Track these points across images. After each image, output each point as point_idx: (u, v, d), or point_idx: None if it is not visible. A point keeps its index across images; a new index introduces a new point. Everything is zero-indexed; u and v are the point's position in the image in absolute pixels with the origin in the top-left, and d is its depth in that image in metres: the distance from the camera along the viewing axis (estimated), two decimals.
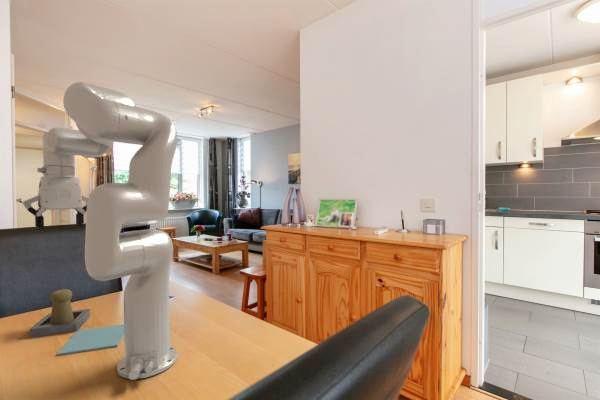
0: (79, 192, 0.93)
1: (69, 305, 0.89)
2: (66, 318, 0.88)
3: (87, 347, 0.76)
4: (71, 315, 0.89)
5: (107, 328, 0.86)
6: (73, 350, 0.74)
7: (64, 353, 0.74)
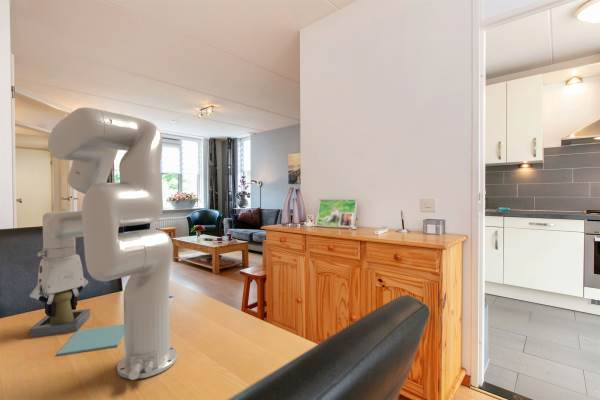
0: (81, 270, 0.91)
1: (69, 305, 0.89)
2: (66, 318, 0.88)
3: (87, 347, 0.76)
4: (71, 315, 0.89)
5: (107, 328, 0.86)
6: (73, 350, 0.74)
7: (64, 353, 0.74)
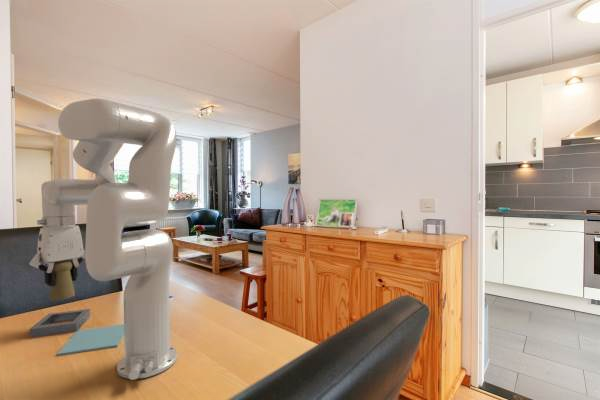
0: (80, 241, 0.91)
1: (69, 275, 0.89)
2: (66, 288, 0.87)
3: (87, 347, 0.76)
4: (71, 285, 0.89)
5: (107, 328, 0.86)
6: (73, 350, 0.74)
7: (64, 353, 0.74)
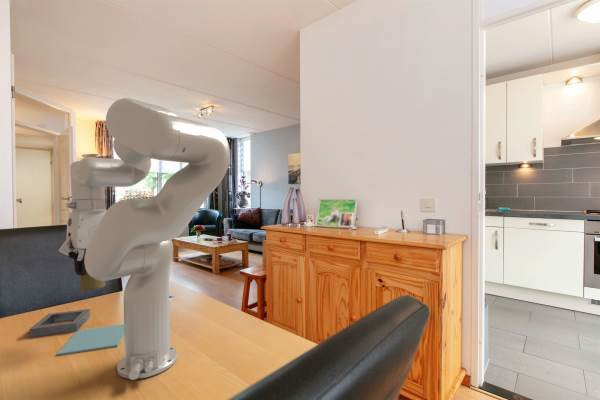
0: None
1: None
2: None
3: (87, 347, 0.76)
4: None
5: (107, 328, 0.86)
6: (73, 350, 0.74)
7: (64, 353, 0.74)
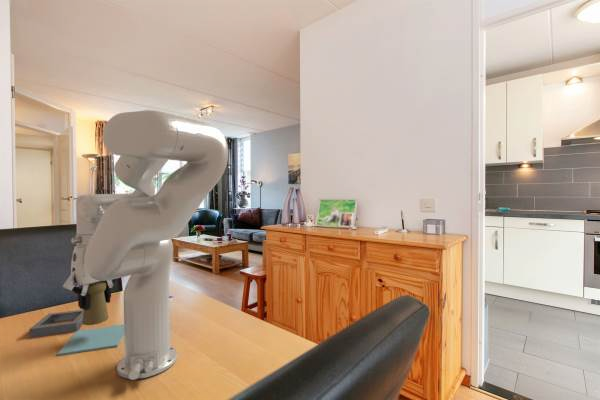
0: None
1: (103, 297, 0.81)
2: (101, 311, 0.80)
3: (87, 347, 0.76)
4: (105, 308, 0.82)
5: (107, 328, 0.86)
6: (73, 350, 0.74)
7: (64, 353, 0.74)
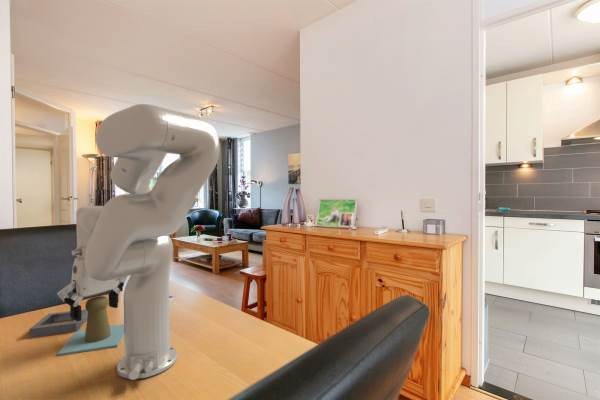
0: None
1: (105, 314, 0.81)
2: (103, 328, 0.80)
3: (87, 347, 0.76)
4: (107, 325, 0.82)
5: None
6: (73, 350, 0.74)
7: (64, 353, 0.74)
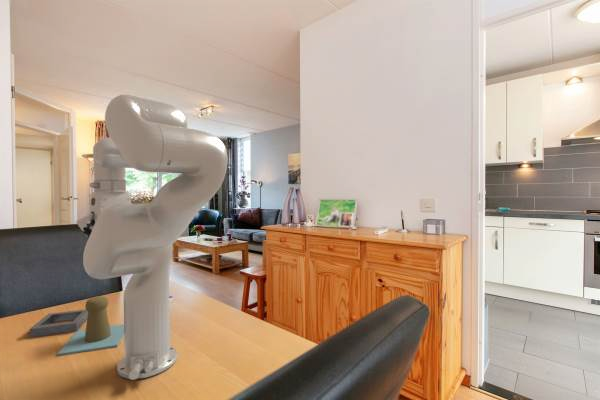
0: None
1: (105, 314, 0.81)
2: (103, 328, 0.80)
3: (87, 347, 0.76)
4: (107, 325, 0.82)
5: None
6: (73, 350, 0.74)
7: (64, 353, 0.74)
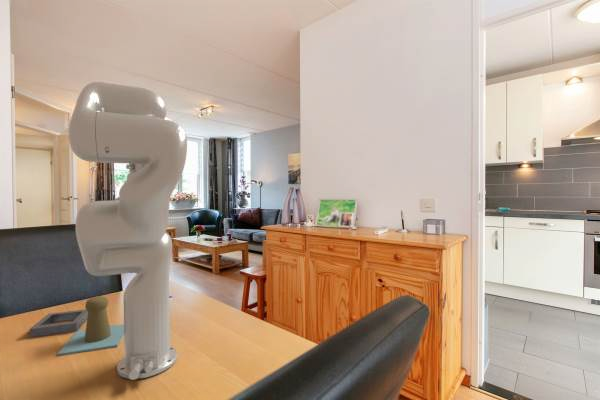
0: None
1: (105, 314, 0.81)
2: (103, 329, 0.80)
3: (87, 347, 0.76)
4: (107, 325, 0.82)
5: None
6: (73, 350, 0.74)
7: (64, 353, 0.74)
